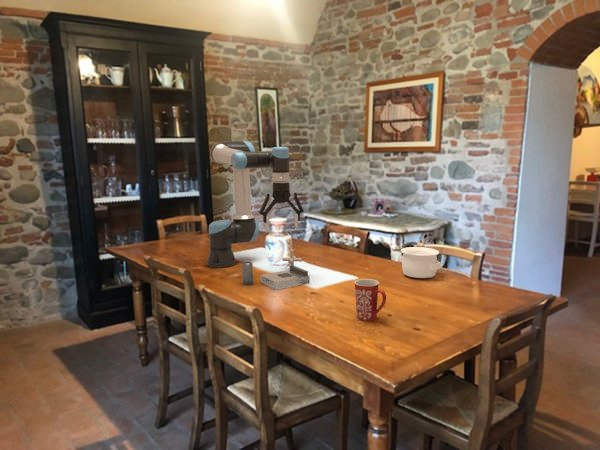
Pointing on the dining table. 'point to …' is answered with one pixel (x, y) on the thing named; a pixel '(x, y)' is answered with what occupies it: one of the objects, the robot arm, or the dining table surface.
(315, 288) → the dining table surface
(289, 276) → the block
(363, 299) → the mug
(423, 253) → the pot
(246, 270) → the dark steel cylinder
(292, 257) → the tan toy jack
